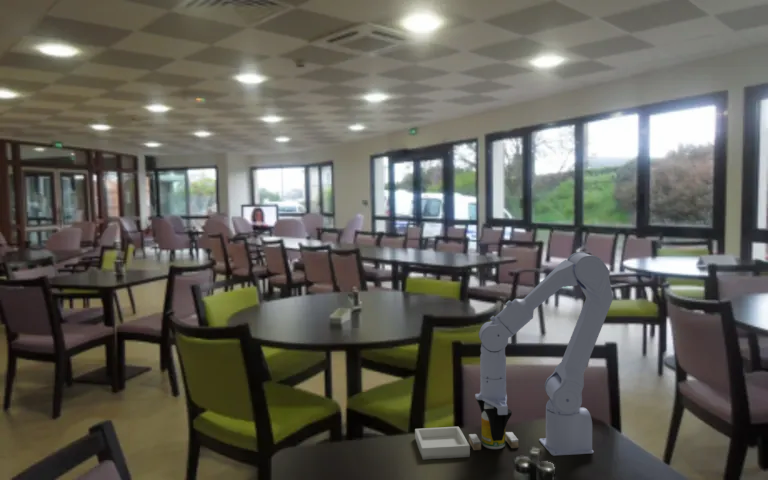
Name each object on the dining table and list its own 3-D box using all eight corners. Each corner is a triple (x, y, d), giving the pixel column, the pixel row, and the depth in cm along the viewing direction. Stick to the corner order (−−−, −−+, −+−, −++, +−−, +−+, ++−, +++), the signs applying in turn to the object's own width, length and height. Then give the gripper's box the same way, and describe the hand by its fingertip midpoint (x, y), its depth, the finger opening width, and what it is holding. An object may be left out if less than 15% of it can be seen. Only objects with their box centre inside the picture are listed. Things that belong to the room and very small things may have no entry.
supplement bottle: (493, 437, 127) (493, 397, 127) (510, 445, 123) (510, 404, 122) (476, 443, 124) (476, 402, 124) (493, 452, 120) (493, 409, 119)
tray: (458, 436, 128) (458, 426, 128) (469, 456, 118) (469, 445, 118) (415, 439, 127) (415, 428, 127) (422, 459, 117) (422, 448, 117)
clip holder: (512, 439, 126) (512, 431, 126) (518, 447, 122) (518, 439, 122) (469, 441, 125) (468, 434, 125) (473, 450, 121) (473, 442, 121)
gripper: (467, 367, 130) (468, 422, 130) (484, 386, 115) (485, 449, 116) (496, 365, 130) (496, 421, 131) (517, 385, 116) (517, 447, 117)
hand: (493, 434), depth 124 cm, fingers closed on supplement bottle, 5 cm apart
